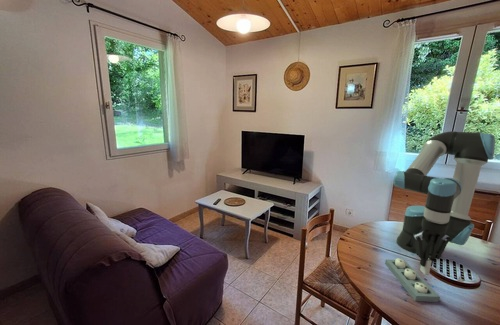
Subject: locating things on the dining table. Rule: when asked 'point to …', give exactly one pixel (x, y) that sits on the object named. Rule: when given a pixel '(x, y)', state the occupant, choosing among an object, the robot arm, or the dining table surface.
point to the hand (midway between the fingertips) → (424, 272)
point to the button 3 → (421, 287)
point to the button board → (412, 283)
